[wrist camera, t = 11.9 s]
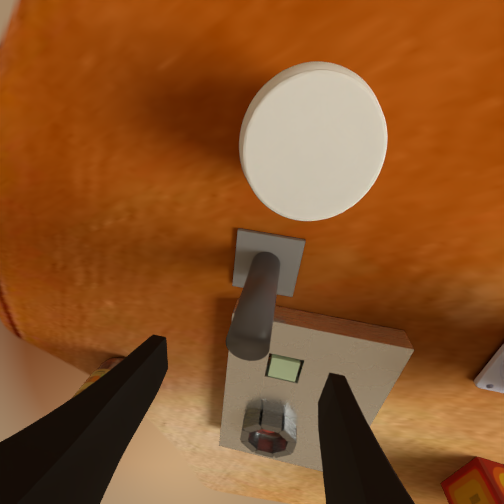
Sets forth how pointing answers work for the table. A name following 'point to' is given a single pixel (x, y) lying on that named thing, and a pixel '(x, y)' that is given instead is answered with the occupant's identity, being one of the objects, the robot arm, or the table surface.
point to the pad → (283, 367)
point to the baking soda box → (476, 483)
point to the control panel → (307, 383)
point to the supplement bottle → (313, 141)
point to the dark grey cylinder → (255, 310)
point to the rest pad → (279, 245)
